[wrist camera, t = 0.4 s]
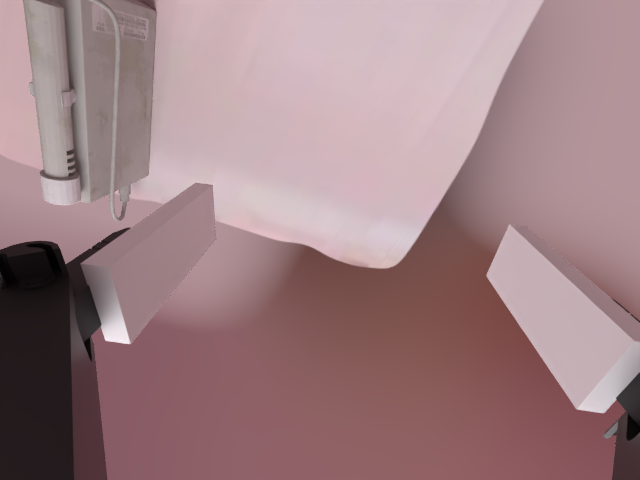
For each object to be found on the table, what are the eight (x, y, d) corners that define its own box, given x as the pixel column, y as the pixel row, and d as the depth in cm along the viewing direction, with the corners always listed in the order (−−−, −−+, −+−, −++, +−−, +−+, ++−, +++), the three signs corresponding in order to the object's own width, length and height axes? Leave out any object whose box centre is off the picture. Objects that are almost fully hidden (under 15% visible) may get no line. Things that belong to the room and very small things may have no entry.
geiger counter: (-18, -56, 21) (31, 246, 32) (76, -21, 21) (91, 264, 33) (119, -6, 33) (119, 200, 45) (177, 15, 33) (162, 214, 45)
